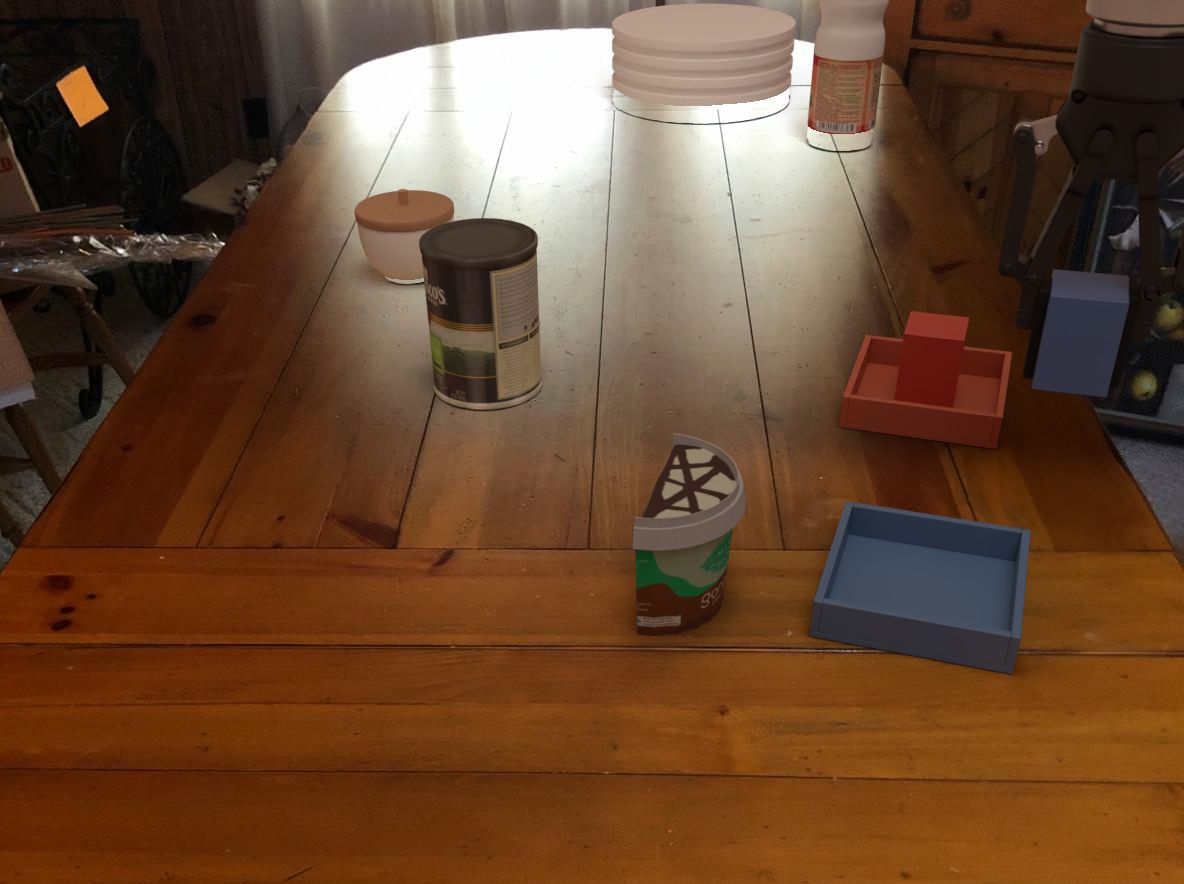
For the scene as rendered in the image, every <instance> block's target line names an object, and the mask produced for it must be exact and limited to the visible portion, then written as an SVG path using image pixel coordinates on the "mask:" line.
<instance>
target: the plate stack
mask: <svg viewBox="0 0 1184 884" xmlns="http://www.w3.org/2000/svg"><path fill="white" fill-rule="evenodd" d="M796 26H797V23H796V19H795V18H794V17H792V16H791V15H789V14H787V13H785V12H782V11H778V10H775V9H771V8H766V7H760V6H754V5H753V6H752V5H746V4H745V5H744V4H733V3H679V4H668V5H658V6H651V7H650V6H649V7H645V8H640V9H635V10H631V11H628V12H625V13H623V14H620V15H619V16H617V17H615V18H614V19H613V20H612V22H611V33H612V35H613V36H614V37H613V38H612V40H611V51H612V54H613V56H612V58H611V68H612V70H613V73H612V75H611V76H612V77H611V78H612V79H611V80H612V81H611V82H612V83H613V85H612V87H613V86H614V88H615V89H616V90H617V91H619V92H620V93H622V94H624V95H625V96H628V97H630V98H633V99H636V100H640V101H644V102H649V103H655V104H663V105H673V106H712V105H723V104H737V103H747V102H754V101H760V100H765V99H768V98H771V97H774V96H777V95H779V94H781V93H783V92H784V91H786V90H787V89H788V88H789V87H790V88H791V86H792V78H793V76H792V72H791V71H792V69H793V63H794V57H793V55H792V54H793V52H794V49H795V39H794V35H795V33H796ZM612 83H611V84H612ZM790 85H791V86H790ZM614 88H613V89H614ZM790 88H789V89H790Z"/></svg>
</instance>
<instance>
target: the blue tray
mask: <svg viewBox="0 0 1184 884" xmlns="http://www.w3.org/2000/svg"><path fill="white" fill-rule="evenodd" d="M1031 533H1032V530H1031V529H1027V528H1021V527H1016V526H1015V527H1013V526H1008V525H1002V524H995V523H989V522H983V521H977V520H969V519H963V518H957V517H950V516H944V515H937V514H931V513H924V512H918V511H912V510H906V509H899V508H893V507H886V506H882V505H881V506H880V505H874V504H866V503H861V502H854V501H845V502H844V505H843V508H842V512H841V515H840V518H839V521H838V524H837V527H836V530H835V533H834V536H833V539H832V542H831V546H830V549H829V551H828V555H827V558H826V561H825V564H824V568H823V571H822V574H821V577H820V580H819V584H818V586H817V589H816V592H815V595H814V598H813V602H812V611H811V621H810V628H809V629H810V630H809V637H812V638H815V639H816V638H817V639H821V640H828V641H832V642H838V643H841V644H842V643H843V644H849V645H852V646H853V645H854V646H859V647H864V648H869V649H875V650H880V651H885V652H891V653H897V654H900V655H901V654H902V655H907V656H911V657H912V656H913V657H917V658H923V659H928V660H934V661H939V662H943V663H949V664H955V665H960V666H965V667H969V668H970V667H971V668H974V669H975V668H976V669H981V670H987V671H991V672H996V673H1002V674H1008V675H1013V673H1014V668H1015V664H1016V660H1017V656H1018V651H1019V649H1020V644H1021V640H1022V632H1023V620H1024V608H1025V598H1026V587H1027V576H1028V567H1029V566H1028V565H1029V557H1030V556H1029V554H1030V553H1029V552H1030V544H1031V535H1032V534H1031Z"/></svg>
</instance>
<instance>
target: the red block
mask: <svg viewBox="0 0 1184 884" xmlns="http://www.w3.org/2000/svg"><path fill="white" fill-rule="evenodd" d="M969 323H970V317H969V316H968V317H967V316H959V315H952V314H951V315H950V314H941V313H932V312H923V311H915V310H911V311H910V313H909V316H908V320H907V323H906V326H905V329H904V332H903V335H902V336H903V337H902V339H903V343H902V350H901V357H900V364H899V370H898V377H897V384H896V391H895V398H894V400H896V401H904V402H911V403H919V404H926V405H934V406H942V407H949V408H953V404H954V399H955V395H956V390H957V384H958V379H959V373H960V368H961V362H962V357H963V351H964V347H965V345H966V341H967V333H968V329H969Z"/></svg>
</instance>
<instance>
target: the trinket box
mask: <svg viewBox="0 0 1184 884" xmlns="http://www.w3.org/2000/svg"><path fill="white" fill-rule="evenodd" d="M454 203H455V202H454V201H453V200H452V198H450V197H449V196H447V195H446V194H442V193H440V192H436V191H429V190H423V189H422V190H421V189H420V190H418V189H406V188H400V189H398V190H394V191H392V190H391V191H387V192H382V193H378V194H375V195H372V196H369V197H366V198H364V199H363V200H361V201H359V202H358V203H357V204H356V206H355V208H354V218H355V220H356V225H357V231H358V237H359V241H360V244H361V248H362V250H363V253H364V256H365V257H366V259H367V261H368V262H369V264H370V265H371V267H373V268H374V270H376V272H378V273H379V274H381V276H383V277H384V276H386V277H388V278H391V279H399V280H415V279H421V278H424V274H423V263H422V254H421V252H420V247H419V240H420V238H421V236H422V235H423V234H424V233H425V232H427V231H428V230H430V229H432V228H434V227H436V226H439V225H442V224H445V223H449V222H453V221H455V217H454V214H455V204H454Z"/></svg>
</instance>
